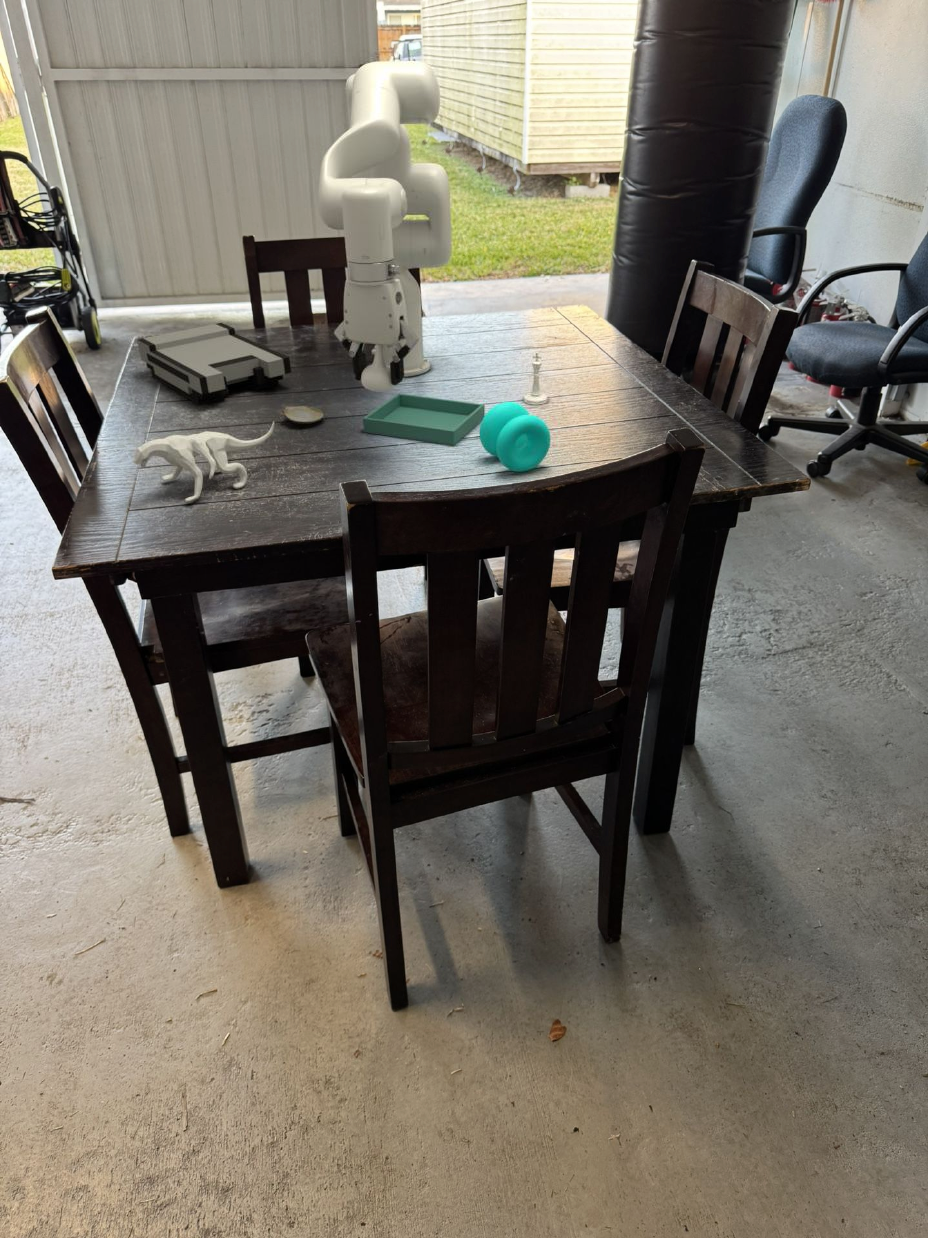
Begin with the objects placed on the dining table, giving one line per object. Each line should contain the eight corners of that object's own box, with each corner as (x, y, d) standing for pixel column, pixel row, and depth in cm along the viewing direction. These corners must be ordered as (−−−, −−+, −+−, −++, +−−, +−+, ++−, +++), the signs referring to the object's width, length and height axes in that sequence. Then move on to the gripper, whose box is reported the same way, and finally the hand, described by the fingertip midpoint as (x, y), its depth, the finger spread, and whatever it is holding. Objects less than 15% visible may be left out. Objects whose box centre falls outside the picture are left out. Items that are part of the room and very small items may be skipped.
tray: (363, 431, 163) (362, 418, 162) (399, 406, 175) (398, 393, 173) (454, 445, 157) (453, 431, 155) (484, 417, 169) (484, 404, 167)
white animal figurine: (131, 490, 143) (116, 434, 138) (266, 454, 155) (257, 401, 150) (155, 516, 135) (141, 457, 129) (296, 475, 147) (288, 420, 142)
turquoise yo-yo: (500, 479, 144) (501, 423, 139) (476, 457, 152) (476, 404, 146) (552, 468, 148) (554, 413, 142) (526, 448, 155) (527, 395, 150)
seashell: (313, 438, 166) (330, 415, 171) (312, 425, 164) (329, 402, 169) (275, 427, 167) (293, 405, 172) (273, 414, 165) (291, 392, 170)
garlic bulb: (361, 383, 149) (357, 337, 145) (397, 381, 150) (394, 335, 145) (362, 395, 144) (358, 348, 140) (398, 393, 145) (395, 346, 140)
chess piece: (545, 405, 174) (547, 356, 168) (522, 403, 175) (523, 355, 169) (548, 397, 178) (550, 349, 172) (525, 395, 179) (526, 348, 173)
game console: (205, 411, 174) (197, 372, 170) (145, 375, 195) (136, 339, 190) (293, 388, 185) (288, 351, 180) (227, 356, 206) (221, 322, 201)
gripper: (429, 269, 136) (433, 379, 146) (336, 262, 142) (346, 368, 152) (408, 279, 130) (414, 393, 140) (312, 272, 136) (325, 381, 146)
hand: (379, 379), depth 146 cm, fingers closed on garlic bulb, 6 cm apart
